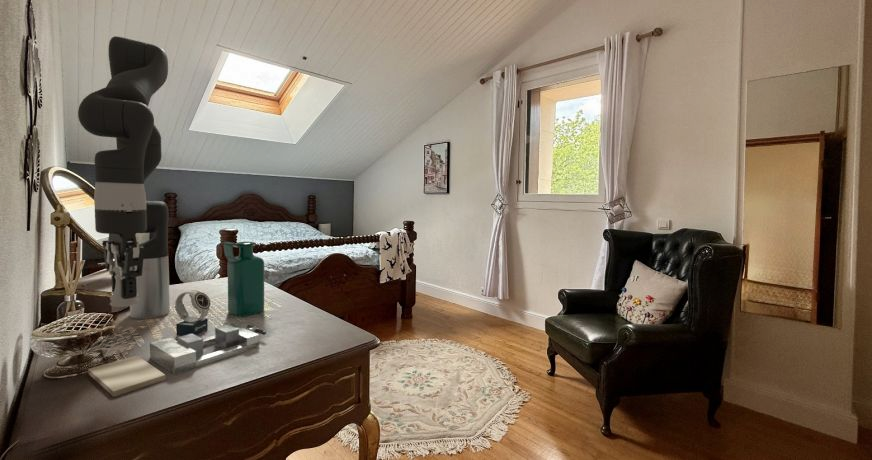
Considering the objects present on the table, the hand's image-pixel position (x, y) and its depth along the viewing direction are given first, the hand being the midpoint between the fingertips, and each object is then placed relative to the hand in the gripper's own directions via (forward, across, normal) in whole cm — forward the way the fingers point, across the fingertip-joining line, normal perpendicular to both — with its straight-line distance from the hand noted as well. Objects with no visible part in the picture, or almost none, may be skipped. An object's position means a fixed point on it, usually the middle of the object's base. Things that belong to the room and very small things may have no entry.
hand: (124, 295), depth 72 cm
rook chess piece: (+2, 0, 0) cm, 2 cm away
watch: (+17, -15, +18) cm, 29 cm away
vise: (+16, 0, +17) cm, 23 cm away
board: (+16, 0, 0) cm, 16 cm away
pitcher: (+17, -21, +35) cm, 44 cm away
